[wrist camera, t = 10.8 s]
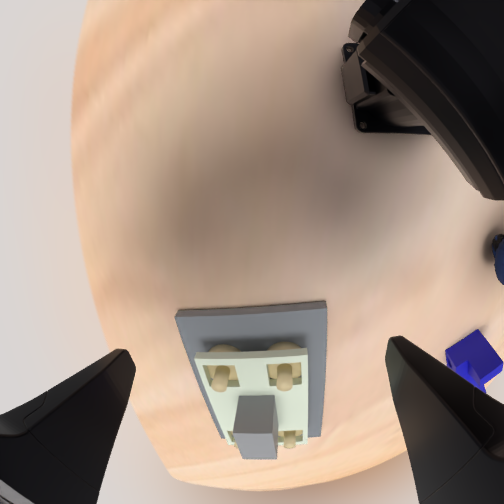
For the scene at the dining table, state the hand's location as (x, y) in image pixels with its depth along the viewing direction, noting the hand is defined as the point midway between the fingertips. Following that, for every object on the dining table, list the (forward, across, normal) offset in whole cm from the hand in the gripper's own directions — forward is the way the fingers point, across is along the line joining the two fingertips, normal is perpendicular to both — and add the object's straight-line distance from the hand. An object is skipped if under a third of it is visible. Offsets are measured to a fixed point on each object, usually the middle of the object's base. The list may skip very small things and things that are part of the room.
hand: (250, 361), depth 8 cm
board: (+9, +2, +15) cm, 18 cm away
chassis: (+12, +2, +15) cm, 19 cm away
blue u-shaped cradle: (+12, -22, +18) cm, 31 cm away
